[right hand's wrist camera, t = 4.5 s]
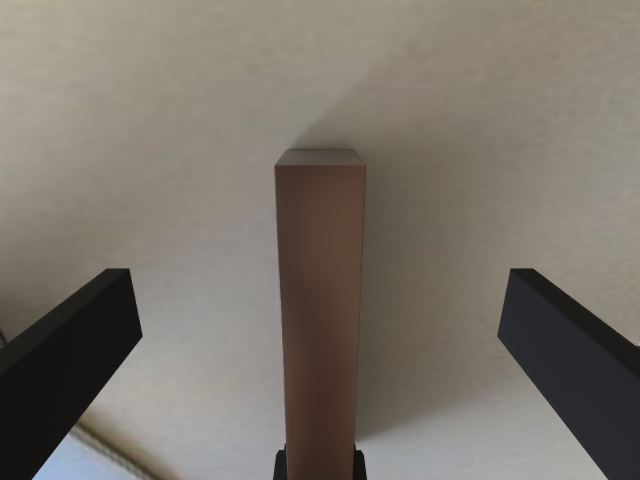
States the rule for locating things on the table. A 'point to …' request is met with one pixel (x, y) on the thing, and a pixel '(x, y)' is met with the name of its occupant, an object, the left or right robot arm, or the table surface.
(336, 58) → the table surface
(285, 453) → the left robot arm
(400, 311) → the table surface
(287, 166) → the beam
